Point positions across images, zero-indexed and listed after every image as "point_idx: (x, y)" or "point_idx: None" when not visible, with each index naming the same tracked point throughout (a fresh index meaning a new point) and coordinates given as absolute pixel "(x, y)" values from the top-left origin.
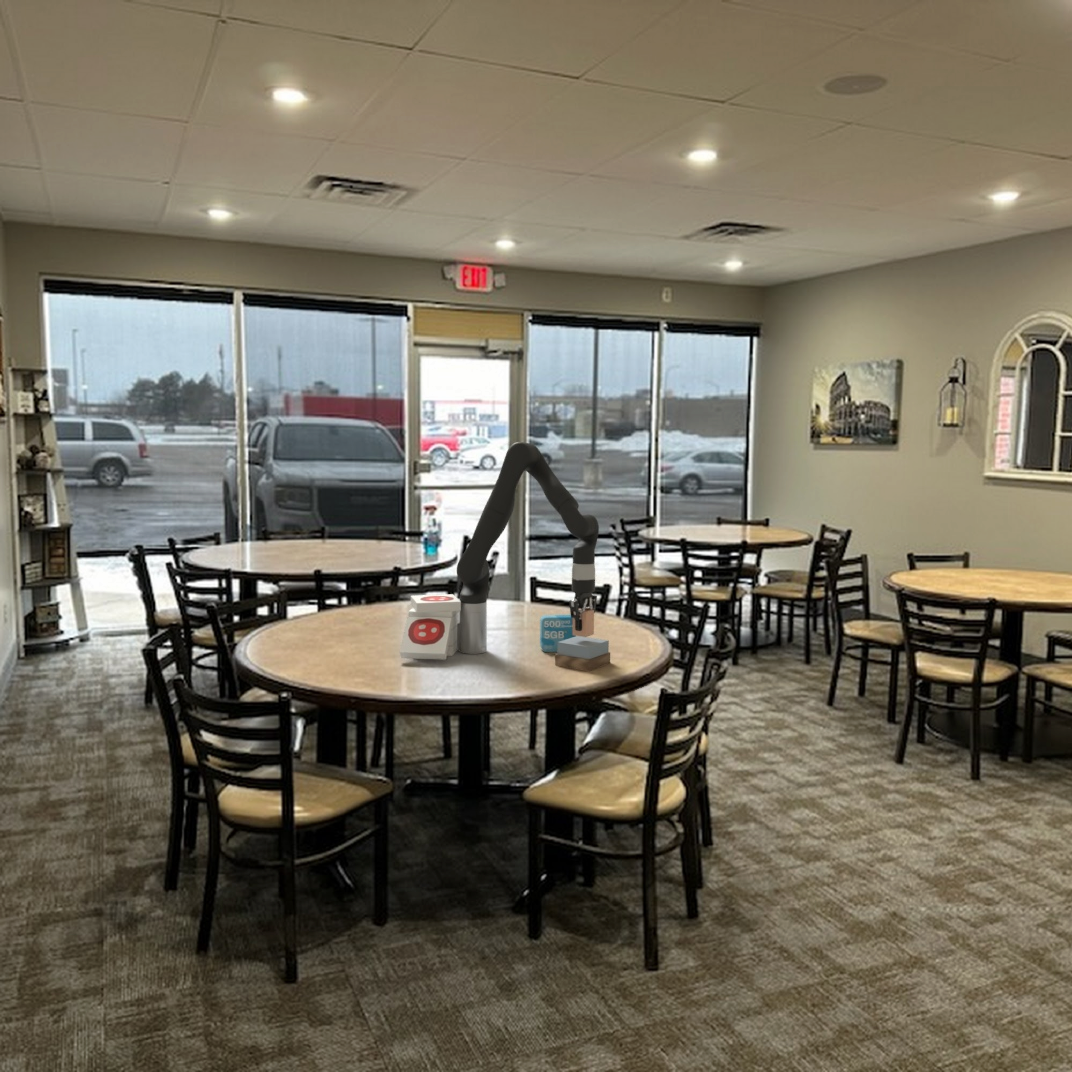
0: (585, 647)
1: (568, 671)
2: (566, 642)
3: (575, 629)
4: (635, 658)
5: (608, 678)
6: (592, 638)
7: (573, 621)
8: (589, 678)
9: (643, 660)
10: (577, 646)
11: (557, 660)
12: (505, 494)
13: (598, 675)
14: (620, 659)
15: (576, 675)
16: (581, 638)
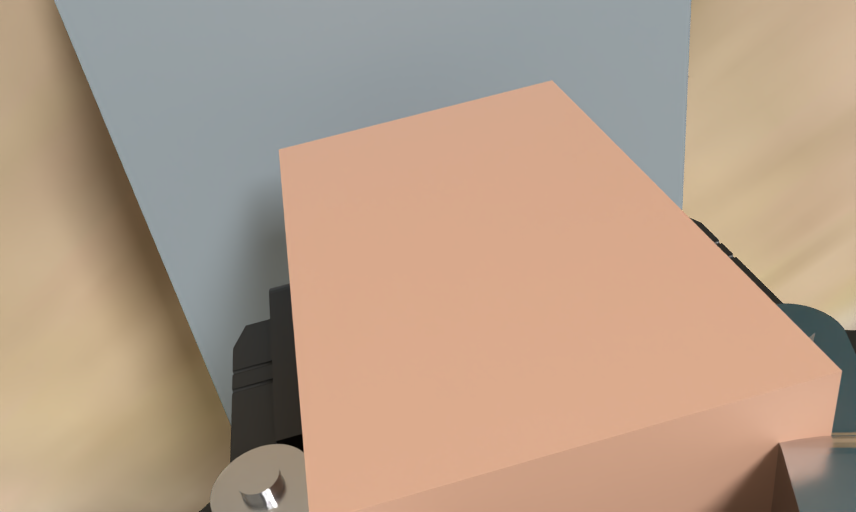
0: (220, 387)
1: (33, 190)
2: (159, 72)
3: (269, 295)
4: (846, 218)
5: (194, 500)
6: (662, 127)
7: (295, 317)
8: (59, 443)
9: (814, 293)
10: (180, 290)
11: None
12: None
13: (190, 417)
14: (753, 167)
15: (14, 332)
16: (564, 19)
